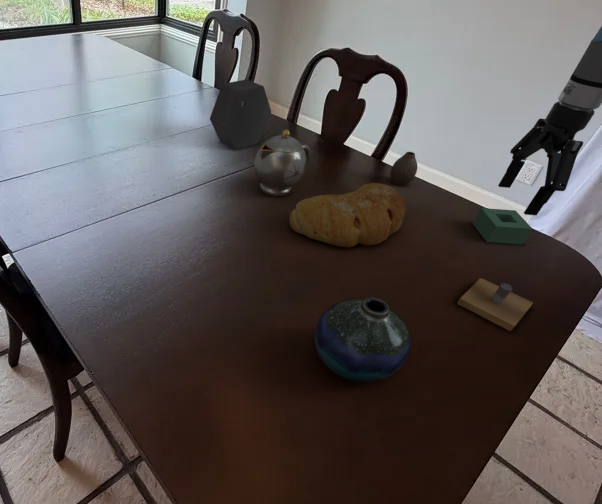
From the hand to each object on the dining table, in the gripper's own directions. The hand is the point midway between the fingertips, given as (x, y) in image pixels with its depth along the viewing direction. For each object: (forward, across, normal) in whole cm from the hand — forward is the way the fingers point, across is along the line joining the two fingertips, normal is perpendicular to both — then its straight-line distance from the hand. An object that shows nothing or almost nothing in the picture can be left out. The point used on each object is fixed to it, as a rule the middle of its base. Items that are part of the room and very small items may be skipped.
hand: (516, 200), depth 107 cm
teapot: (+10, -16, -55) cm, 58 cm away
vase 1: (+10, +49, -48) cm, 69 cm away
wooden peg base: (+9, +30, -14) cm, 34 cm away
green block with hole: (+9, 0, 0) cm, 9 cm away
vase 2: (+10, -26, -18) cm, 33 cm away
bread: (+10, +2, -38) cm, 39 cm away
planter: (+10, -47, -66) cm, 81 cm away
